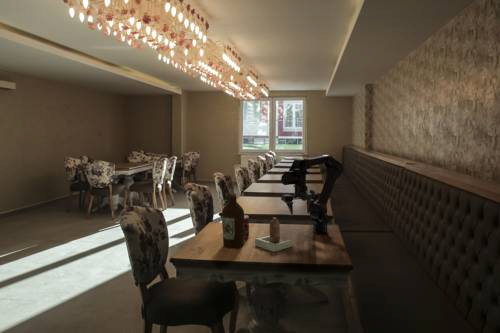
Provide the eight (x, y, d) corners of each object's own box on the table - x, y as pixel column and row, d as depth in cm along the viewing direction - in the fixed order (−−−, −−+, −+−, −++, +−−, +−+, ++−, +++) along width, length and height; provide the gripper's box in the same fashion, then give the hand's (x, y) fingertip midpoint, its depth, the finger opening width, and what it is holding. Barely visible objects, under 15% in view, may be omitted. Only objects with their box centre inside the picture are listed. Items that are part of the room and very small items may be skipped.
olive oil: (230, 241, 192) (230, 191, 189) (248, 244, 186) (248, 193, 183) (217, 246, 183) (216, 194, 180) (235, 250, 177) (235, 196, 175)
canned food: (236, 240, 193) (235, 218, 192) (232, 235, 201) (232, 214, 200) (250, 238, 195) (250, 217, 194) (246, 234, 203) (246, 214, 202)
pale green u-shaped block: (273, 240, 192) (273, 233, 192) (292, 246, 183) (292, 239, 183) (255, 245, 184) (255, 238, 184) (273, 251, 175) (273, 244, 175)
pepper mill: (280, 244, 186) (280, 216, 185) (279, 247, 181) (279, 219, 180) (270, 243, 187) (270, 216, 186) (268, 246, 182) (268, 218, 181)
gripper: (290, 186, 184) (289, 219, 186) (324, 184, 190) (324, 216, 192) (280, 183, 195) (280, 214, 196) (314, 181, 201) (313, 211, 202)
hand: (300, 214), depth 197 cm, fingers open, 9 cm apart
